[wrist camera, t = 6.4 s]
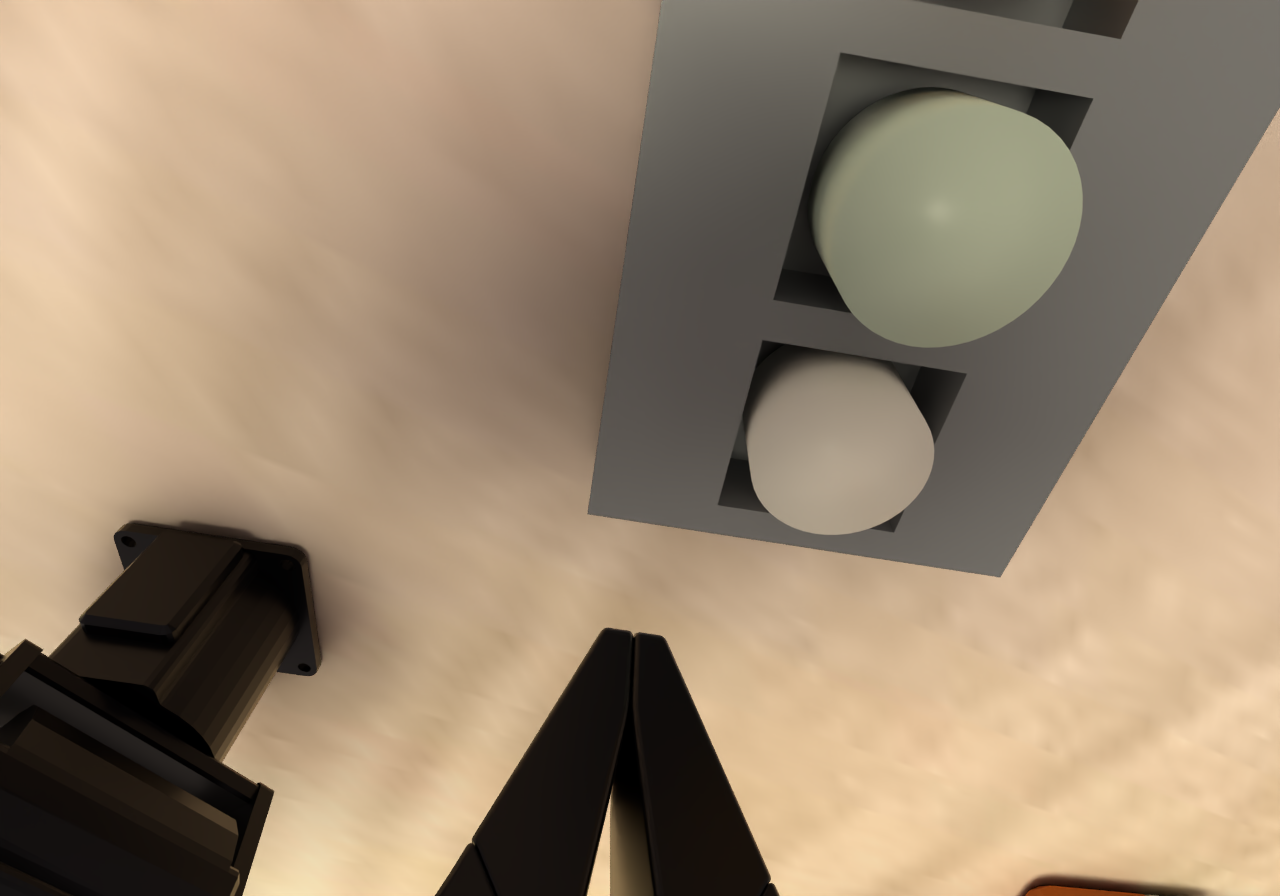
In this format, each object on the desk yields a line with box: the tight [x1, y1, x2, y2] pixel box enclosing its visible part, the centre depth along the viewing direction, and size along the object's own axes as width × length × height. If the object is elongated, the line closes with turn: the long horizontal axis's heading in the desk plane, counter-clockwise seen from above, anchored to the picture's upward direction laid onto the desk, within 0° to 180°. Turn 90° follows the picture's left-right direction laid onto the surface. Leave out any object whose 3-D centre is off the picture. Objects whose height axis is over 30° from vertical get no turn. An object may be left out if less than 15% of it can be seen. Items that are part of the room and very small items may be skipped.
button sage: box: [808, 87, 1083, 348], centre depth 14 cm, size 4×4×3 cm
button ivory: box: [742, 344, 934, 535], centre depth 18 cm, size 4×4×3 cm
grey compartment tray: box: [588, 0, 1280, 577], centre depth 16 cm, size 19×12×3 cm, turn 171°
